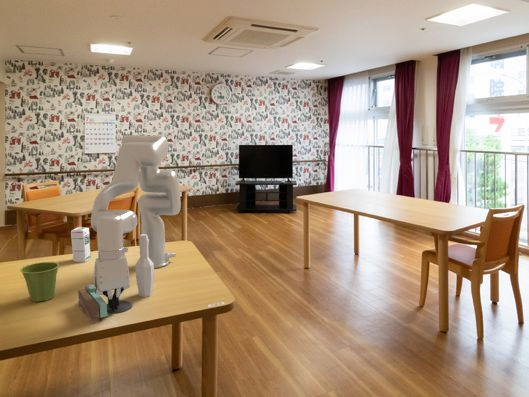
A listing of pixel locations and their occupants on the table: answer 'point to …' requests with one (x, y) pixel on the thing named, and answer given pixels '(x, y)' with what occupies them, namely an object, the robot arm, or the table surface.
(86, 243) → the syrup box
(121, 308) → the dark grey disc
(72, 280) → the table surface
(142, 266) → the white bottle
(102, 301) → the bar
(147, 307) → the table surface
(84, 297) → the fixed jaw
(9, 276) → the table surface
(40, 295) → the plant pot
